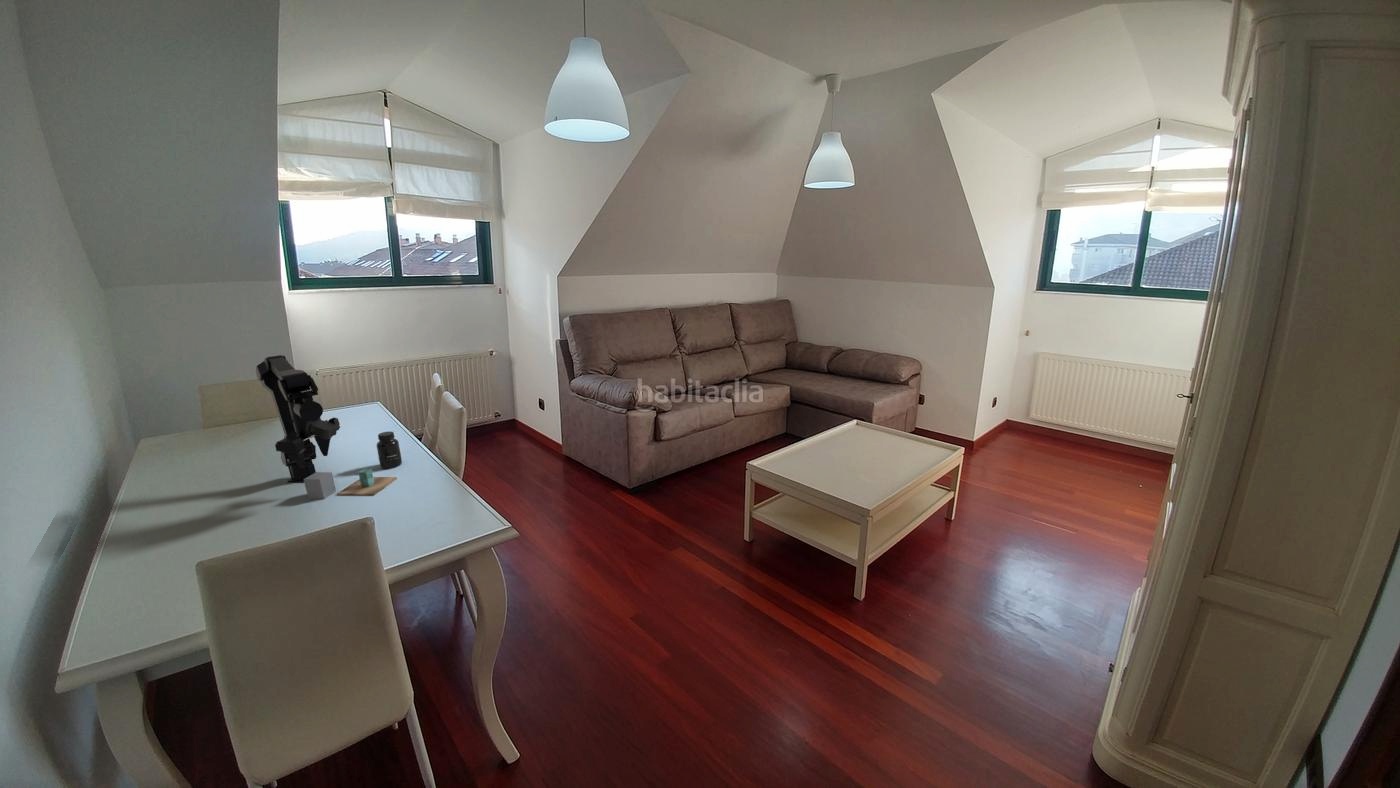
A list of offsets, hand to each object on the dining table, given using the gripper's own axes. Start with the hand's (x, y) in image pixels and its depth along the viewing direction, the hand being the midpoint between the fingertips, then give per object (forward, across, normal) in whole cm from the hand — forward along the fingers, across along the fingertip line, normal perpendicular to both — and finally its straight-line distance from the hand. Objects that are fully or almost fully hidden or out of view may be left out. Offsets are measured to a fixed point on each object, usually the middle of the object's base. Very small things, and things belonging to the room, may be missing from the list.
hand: (314, 461), depth 166 cm
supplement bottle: (+12, +23, -8) cm, 27 cm away
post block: (+11, +6, -11) cm, 17 cm away
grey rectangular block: (+11, 0, 0) cm, 11 cm away
